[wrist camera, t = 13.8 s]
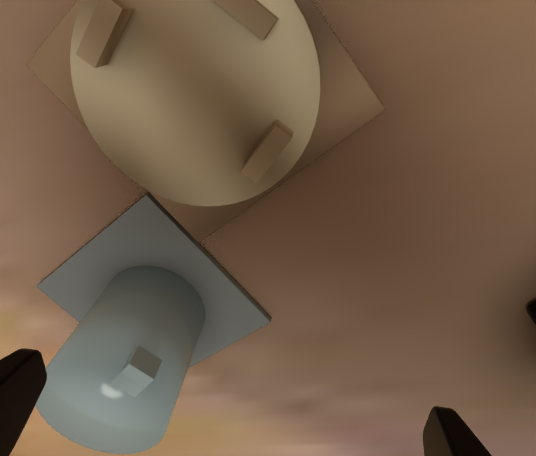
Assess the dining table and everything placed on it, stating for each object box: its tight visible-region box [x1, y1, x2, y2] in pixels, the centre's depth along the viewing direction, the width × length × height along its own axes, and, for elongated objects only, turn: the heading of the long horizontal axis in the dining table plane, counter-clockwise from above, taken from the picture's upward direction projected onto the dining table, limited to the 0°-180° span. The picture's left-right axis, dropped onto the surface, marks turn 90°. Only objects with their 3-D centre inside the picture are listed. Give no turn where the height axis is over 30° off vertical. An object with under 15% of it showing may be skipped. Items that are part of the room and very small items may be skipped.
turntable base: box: [25, 0, 385, 243], centre depth 18 cm, size 11×11×1 cm
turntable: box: [70, 0, 320, 206], centre depth 16 cm, size 10×10×2 cm
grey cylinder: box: [36, 266, 205, 454], centre depth 22 cm, size 10×6×7 cm, turn 140°
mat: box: [36, 192, 271, 368], centre depth 24 cm, size 10×10×1 cm
